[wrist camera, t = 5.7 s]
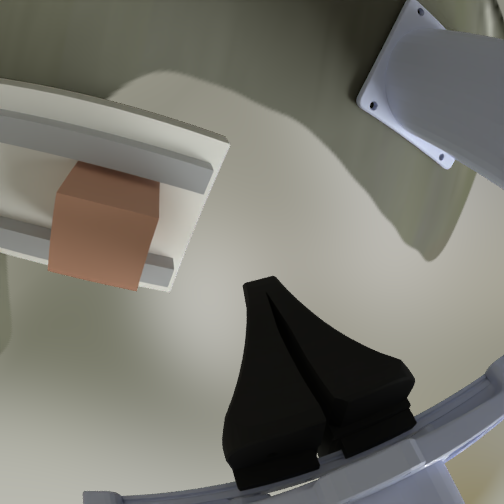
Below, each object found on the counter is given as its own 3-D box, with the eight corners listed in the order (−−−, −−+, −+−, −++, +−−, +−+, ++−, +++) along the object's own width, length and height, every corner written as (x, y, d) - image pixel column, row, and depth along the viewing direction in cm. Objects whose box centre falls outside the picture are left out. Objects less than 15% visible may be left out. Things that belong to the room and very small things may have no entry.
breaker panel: (225, 136, 15) (235, 150, 13) (168, 276, 19) (170, 304, 17) (-48, 72, 9) (-75, 79, 7) (-59, 218, 12) (-77, 240, 11)
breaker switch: (159, 181, 14) (159, 218, 11) (139, 245, 16) (136, 291, 13) (78, 160, 12) (56, 192, 10) (65, 227, 14) (47, 270, 11)
